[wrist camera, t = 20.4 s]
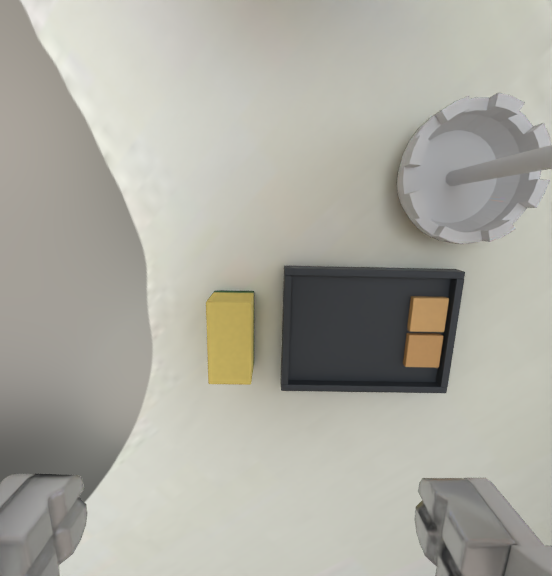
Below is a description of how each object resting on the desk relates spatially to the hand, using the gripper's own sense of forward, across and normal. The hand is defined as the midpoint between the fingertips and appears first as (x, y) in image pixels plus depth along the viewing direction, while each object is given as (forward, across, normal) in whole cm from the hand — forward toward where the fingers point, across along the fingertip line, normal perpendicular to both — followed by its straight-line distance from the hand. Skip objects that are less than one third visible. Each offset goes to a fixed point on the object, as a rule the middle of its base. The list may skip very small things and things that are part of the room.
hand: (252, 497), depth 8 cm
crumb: (+28, -18, +8) cm, 35 cm away
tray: (+29, -12, +6) cm, 32 cm away
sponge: (+29, +4, +6) cm, 30 cm away
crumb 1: (+28, -18, +4) cm, 34 cm away
